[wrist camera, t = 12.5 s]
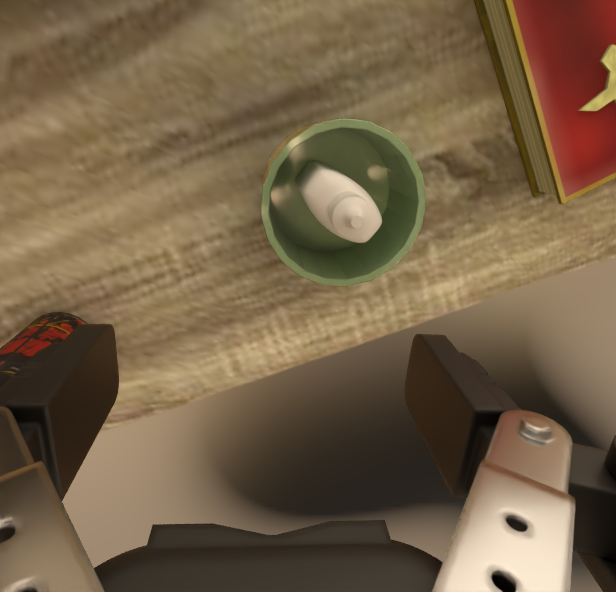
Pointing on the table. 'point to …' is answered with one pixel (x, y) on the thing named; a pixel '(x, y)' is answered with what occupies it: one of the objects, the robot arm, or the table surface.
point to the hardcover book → (557, 88)
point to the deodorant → (34, 341)
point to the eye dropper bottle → (338, 202)
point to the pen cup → (365, 172)
